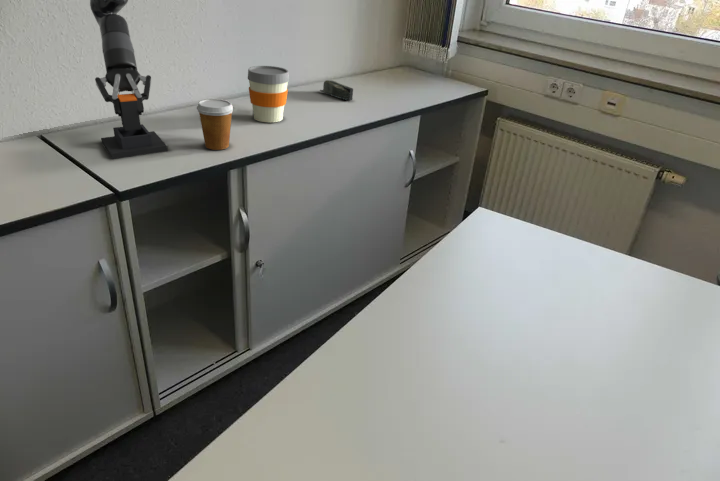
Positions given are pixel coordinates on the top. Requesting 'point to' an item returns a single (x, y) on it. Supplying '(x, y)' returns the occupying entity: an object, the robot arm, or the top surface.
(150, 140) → the base pad
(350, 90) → the dark grey block piece
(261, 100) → the reusable coffee cup
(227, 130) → the disposable coffee cup
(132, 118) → the pad block
